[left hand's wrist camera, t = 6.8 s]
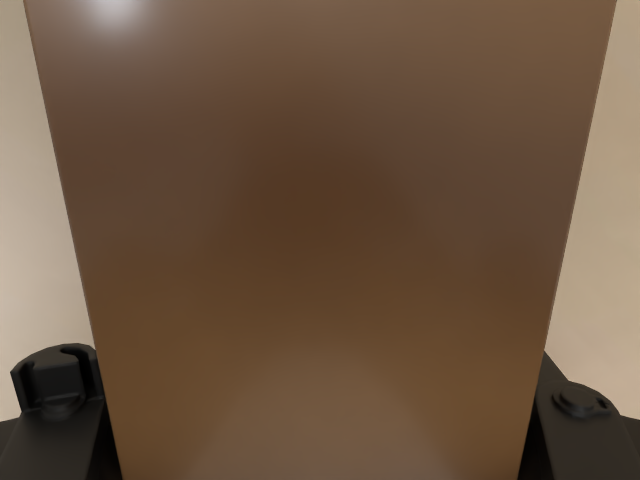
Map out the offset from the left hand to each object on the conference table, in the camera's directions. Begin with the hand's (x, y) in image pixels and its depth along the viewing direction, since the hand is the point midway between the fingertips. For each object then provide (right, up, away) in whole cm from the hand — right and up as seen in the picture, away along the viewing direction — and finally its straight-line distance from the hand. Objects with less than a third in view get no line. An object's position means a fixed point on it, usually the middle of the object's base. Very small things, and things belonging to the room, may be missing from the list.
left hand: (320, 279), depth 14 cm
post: (0, +31, -11) cm, 33 cm away
